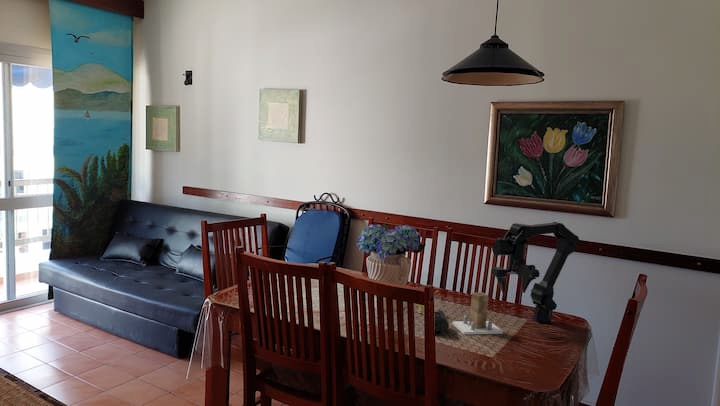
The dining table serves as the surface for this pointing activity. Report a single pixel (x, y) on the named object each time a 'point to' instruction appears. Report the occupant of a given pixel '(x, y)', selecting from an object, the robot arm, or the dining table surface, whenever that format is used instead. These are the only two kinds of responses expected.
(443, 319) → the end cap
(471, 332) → the plate
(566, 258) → the robot arm
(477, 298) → the walnut post
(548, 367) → the dining table surface
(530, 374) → the dining table surface
